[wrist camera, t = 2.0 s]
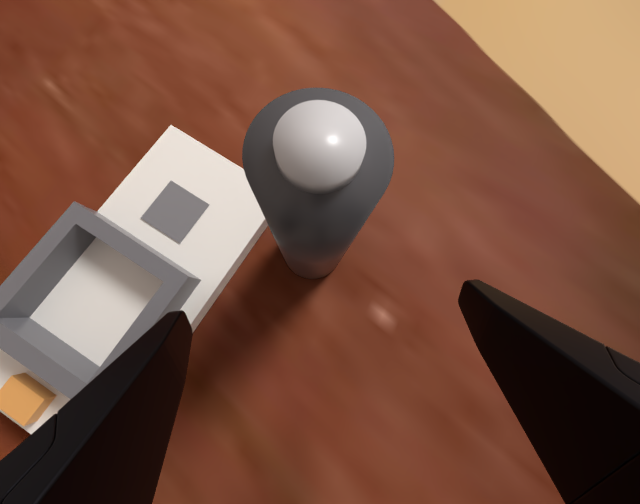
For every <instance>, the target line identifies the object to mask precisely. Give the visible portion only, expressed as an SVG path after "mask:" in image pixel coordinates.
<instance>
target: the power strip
mask: <svg viewBox="0 0 640 504" xmlns="http://www.w3.org/2000/svg"><path fill="white" fill-rule="evenodd" d="M267 226H268V223H267V221H266V219H265V217H264V215H263V213H262V211H261V208H260V206H259V204H258V202H257V200H256V198H255V196H254V194H253V191H252V189H251V187H250V185H249V183H248V180H247V178H246V175H245V171H244V169H242V168H241V167H239V166H237V165H236V164H234V163H233V162H231V161H229V160H228V159H226V158H224V157H223V156H221V155H219V154H218V153H216V152H215V151H213V150H211V149H210V148H208V147H206V146H205V145H203V144H201V143H200V142H198V141H197V140H195V139H193V138H192V137H190V136H188V135H187V134H185V133H184V132H182V131H180V130H179V129H177V128H175V127H174V126H172V125H170V126H169V128H168V129H167V130H166V131H165V132H164V133H163V135H162V136H161V137H160V138H159V139H158V141H157V142H156V143H155V144H154V145H153V146H152V148H151V149H150V150H149V151H148V152H147V154H146V155H145V156H144V157H143V158H142V159H141V161H140V162H139V163H138V164H137V165H136V166H135V168H134V169H133V170H132V171H131V172H130V174H129V175H128V176H127V177H126V178H125V179H124V181H123V182H122V183H121V184H120V185H119V187H118V188H117V189H116V190H115V191H114V192H113V194H112V195H111V196H110V197H109V198H108V200H107V201H106V202H105V203H104V204H103V205H102V207H101V208H100V209H99V210H98V211H97V212H96V211H94V210H92V209H90V208H87V207H85V206H83V205H81V204H79V203H77V202H73V203H72V204H71V206H70V207H69V208H68V209H67V210H66V211H65V212H64V214H63V215H62V216H61V217H60V218H59V219H58V220H57V222H56V223H55V224H54V225H53V226H52V227H51V228H50V230H49V231H48V232H47V233H46V234H45V235H44V236H43V238H42V239H41V240H40V241H39V242H38V243H37V244H36V246H35V247H34V248H33V249H32V250H31V251H30V252H29V254H28V255H27V256H26V257H25V258H24V259H23V261H22V262H21V263H20V264H19V265H18V266H17V267H16V269H15V270H14V271H13V272H12V273H11V274H10V275H9V277H8V278H7V279H6V280H5V281H4V282H3V283H2V285H1V286H0V412H1V413H3V414H4V415H5V416H7V417H8V418H9V419H11V420H12V421H14V422H15V423H16V424H18V425H19V426H20V427H22V428H23V429H24V430H26V431H27V432H28V433H30V434H32V433H33V432H35V431H36V430H37V429H38V428H39V427H40V426H41V425H42V424H44V423H45V422H46V421H47V420H48V419H49V418H50V417H51V416H53V415H54V414H57V412H58V410H59V409H60V408H62V407H63V406H64V405H65V404H66V403H67V402H68V401H69V400H71V399H72V398H73V397H74V396H75V395H76V394H77V393H78V392H79V391H81V390H82V389H83V388H84V387H85V386H86V385H87V384H88V383H90V382H91V381H92V380H93V379H94V378H95V377H96V376H97V375H98V374H100V373H101V372H102V371H103V370H104V369H105V368H106V367H107V366H109V365H110V364H111V363H112V362H113V361H114V360H115V359H116V358H117V357H119V356H120V355H121V354H122V353H123V352H124V351H125V350H126V349H128V348H129V347H130V346H131V345H132V344H133V343H134V342H135V341H136V340H138V339H139V338H140V337H141V336H142V335H143V334H144V333H145V332H146V331H148V330H149V329H150V328H151V327H152V326H153V325H154V324H155V323H157V322H158V321H159V320H160V319H161V318H162V317H163V316H164V315H165V314H167V313H168V312H170V311H177V310H183V311H184V312H185V313H186V316H187V318H188V320H189V322H190V325H191V327H192V333H193V332H194V331H195V329H196V328H197V326H198V325H199V323H200V322H201V321H202V319H203V318H204V316H205V315H206V313H207V312H208V311H209V309H210V308H211V306H212V305H213V303H214V302H215V301H216V299H217V298H218V296H219V295H220V293H221V292H222V291H223V289H224V288H225V286H226V285H227V283H228V282H229V281H230V279H231V278H232V276H233V275H234V273H235V272H236V271H237V269H238V268H239V266H240V265H241V263H242V262H243V260H244V259H245V258H246V256H247V255H248V253H249V252H250V250H251V249H252V248H253V246H254V245H255V243H256V242H257V240H258V239H259V238H260V236H261V235H262V233H263V232H264V230H265V229H266V228H267Z"/></svg>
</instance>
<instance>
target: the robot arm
mask: <svg viewBox="0 0 640 504" xmlns="http://www.w3.org/2000/svg"><path fill="white" fill-rule="evenodd" d="M458 303H459V307H460V309H461V311H462V314H463V316H464V318H465V321H466V323H467V325H468V328H469V330H470V332H471V334H472V337H473V339H474V341H475V343H476V346H477V348H478V349H479V351H480V353H481V355H482V357H483V359H484V360H485V362H486V364H487V366H488V367H489V369H490V371H491V373H492V375H493V376H494V378H495V380H496V382H497V383H498V385H499V387H500V389H501V390H502V392H503V394H504V396H505V398H506V399H507V401H508V403H509V405H510V406H511V408H512V410H513V412H514V413H515V415H516V417H517V419H518V421H519V422H520V424H521V426H522V428H523V429H524V431H525V433H526V435H527V437H528V438H529V440H530V442H531V444H532V445H533V447H534V449H535V451H536V452H537V454H538V456H539V458H540V460H541V461H542V463H543V465H544V467H545V468H546V470H547V472H548V474H549V476H550V477H551V479H552V481H553V483H554V484H555V486H556V488H557V490H558V491H559V493H560V495H561V497H562V499H563V500H564V502H565V504H640V363H639V362H637V361H635V360H633V359H631V358H629V357H627V356H625V355H623V354H621V353H619V352H617V351H615V350H614V349H612V348H610V347H607V346H606V347H605V345H604V344H602V343H600V342H598V341H596V340H594V339H592V338H590V337H588V336H586V335H584V334H583V333H581V332H579V331H577V330H575V329H573V328H571V327H569V326H567V325H565V324H563V323H561V322H559V321H557V320H556V319H554V318H552V317H550V316H548V315H546V314H544V313H542V312H540V311H538V310H536V309H534V308H532V307H530V306H528V305H527V304H525V303H523V302H521V301H519V300H517V299H515V298H513V297H511V296H509V295H507V294H505V293H503V292H501V291H499V290H498V289H496V288H494V287H492V286H490V285H488V284H486V283H484V282H482V281H480V280H476V279H475V280H467V281H465V282H464V283H463V285H462V289H461V292H460V295H459V299H458ZM191 341H192V327H191V325H190V322H189V320H188V318H187V316H186V313H185V312H184V311H183V310H177V311H170V312H168V313H167V314H165V315H164V316H163V317H162V318H161V319H160V320H159V321H158V322H157V323H155V324H154V325H153V326H152V327H151V328H150V329H149V330H148V331H146V332H145V333H144V334H143V335H142V336H141V337H140V338H139V339H138V340H136V341H135V342H134V343H133V344H132V345H131V346H130V347H129V348H128V349H126V350H125V351H124V352H123V353H122V354H121V355H120V356H119V357H117V358H116V359H115V360H114V361H113V362H112V363H111V364H110V365H109V366H107V367H106V368H105V369H104V370H103V371H102V372H101V373H100V374H98V375H97V376H96V377H95V378H94V379H93V380H92V381H91V382H90V383H88V384H87V385H86V386H85V387H84V388H83V389H82V390H81V391H79V392H78V393H77V394H76V395H75V396H74V397H73V398H72V399H71V400H69V401H68V402H67V403H66V404H65V405H64V406H63V407H62V408H60V409H59V410H58V412H57V414H54V415H53V416H51V417H50V418H49V419H48V420H47V421H46V422H45V423H44V424H42V425H41V426H40V427H39V428H38V429H37V430H36V431H35V432H33V433H32V434H31V435H30V436H29V437H28V438H27V439H25V440H24V441H23V442H22V443H21V444H20V445H18V446H17V447H16V448H15V449H14V450H13V451H11V452H10V453H9V454H8V455H7V456H5V457H4V458H3V459H2V460H1V461H0V504H152V502H153V498H154V494H155V491H156V487H157V483H158V480H159V476H160V472H161V469H162V465H163V461H164V458H165V454H166V450H167V447H168V443H169V439H170V436H171V432H172V428H173V425H174V421H175V417H176V414H177V410H178V406H179V403H180V399H181V395H182V392H183V388H184V384H185V379H186V373H187V367H188V360H189V354H190V347H191Z"/></svg>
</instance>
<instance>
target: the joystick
mask: <svg viewBox="0 0 640 504" xmlns="http://www.w3.org/2000/svg"><path fill="white" fill-rule="evenodd" d="M242 160H243V167H244V171H245V175H246V178H247V180H248V183H249V185H250V187H251V189H252V191H253V194H254V196H255V198H256V200H257V202H258V204H259V206H260V208H261V211H262V213H263V215H264V217H265V219H266V221H267V223H268V225H269V228H270V230H271V232H272V234H273V236H274V238H275V240H276V242H277V245H278V247H279V249H280V251H281V253H282V255H283V257H284V259H285V262H286V264H287V265H288V267H289V268H290V269H291V270H292V271H293V272H294V273H295V274H297V275H299V276H301V277H303V278H307V279H317V278H321V277H324V276H326V275H328V274H329V273H331V272H332V271H333V270H334V269H335V268H336V266H337V265H338V263H339V262H340V260H341V258H342V257H343V255H344V254H345V252H346V251H347V249H348V248H349V246H350V245H351V243H352V242H353V240H354V238H355V237H356V235H357V234H358V232H359V231H360V229H361V228H362V226H363V225H364V223H365V222H366V220H367V218H368V217H369V215H370V214H371V212H372V211H373V209H374V208H375V206H376V205H377V203H378V202H379V200H380V198H381V197H382V195H383V194H384V192H385V190H386V189H387V187H388V185H389V182H390V179H391V176H392V172H393V167H394V150H393V145H392V141H391V138H390V135H389V132H388V130H387V128H386V127H385V125H384V123H383V122H382V120H381V119H380V118H379V116H378V115H377V114H376V113H375V112H374V111H373V110H372V109H371V108H370V107H369V106H368V105H366V104H365V103H364V102H362V101H361V100H359V99H357V98H356V97H353V96H351V95H349V94H347V93H344V92H341V91H338V90H333V89H327V88H306V89H300V90H296V91H292V92H289V93H287V94H284V95H282V96H280V97H278V98H276V99H275V100H273V101H272V102H270V103H269V104H268V105H266V106H265V107H264V108H263V109H262V110H261V111H260V112H259V113H258V114H257V116H256V117H255V118H254V120H253V121H252V123H251V124H250V126H249V129H248V131H247V133H246V136H245V139H244V144H243V154H242Z"/></svg>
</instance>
